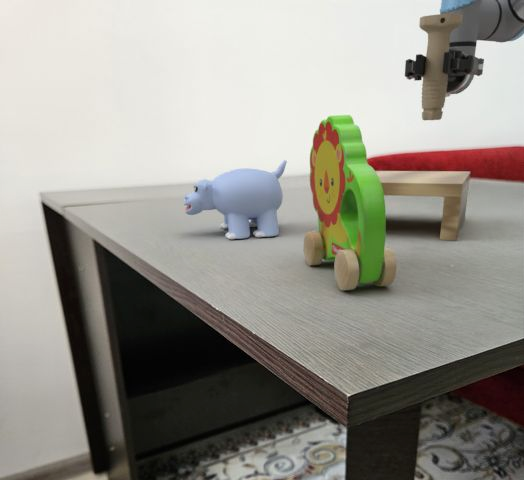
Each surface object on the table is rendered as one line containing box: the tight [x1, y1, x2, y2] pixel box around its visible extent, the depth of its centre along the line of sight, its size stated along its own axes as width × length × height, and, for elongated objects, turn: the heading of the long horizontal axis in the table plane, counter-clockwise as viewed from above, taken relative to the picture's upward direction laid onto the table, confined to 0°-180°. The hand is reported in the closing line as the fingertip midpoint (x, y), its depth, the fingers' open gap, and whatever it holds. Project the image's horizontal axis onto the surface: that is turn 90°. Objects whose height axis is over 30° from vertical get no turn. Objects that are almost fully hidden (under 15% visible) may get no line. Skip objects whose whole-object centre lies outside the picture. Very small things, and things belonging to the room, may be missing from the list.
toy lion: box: [303, 114, 397, 291], centre depth 52 cm, size 16×5×15 cm, turn 13°
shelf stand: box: [375, 170, 471, 241], centre depth 74 cm, size 16×14×7 cm
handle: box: [418, 13, 462, 121], centre depth 86 cm, size 5×6×15 cm
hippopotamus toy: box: [183, 159, 288, 240], centre depth 74 cm, size 11×15×10 cm
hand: (431, 63), depth 81 cm, fingers closed on handle, 3 cm apart
